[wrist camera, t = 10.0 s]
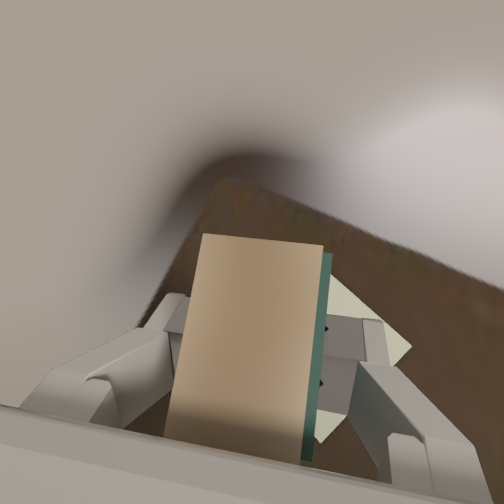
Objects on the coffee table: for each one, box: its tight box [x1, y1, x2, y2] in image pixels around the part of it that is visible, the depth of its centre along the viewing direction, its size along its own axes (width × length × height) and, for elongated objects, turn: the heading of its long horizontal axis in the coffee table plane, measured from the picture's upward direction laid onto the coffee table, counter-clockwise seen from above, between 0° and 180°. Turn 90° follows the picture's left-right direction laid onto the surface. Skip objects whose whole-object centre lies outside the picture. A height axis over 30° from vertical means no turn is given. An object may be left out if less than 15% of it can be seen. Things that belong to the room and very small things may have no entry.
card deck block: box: [163, 233, 333, 465], centre depth 11 cm, size 3×4×8 cm
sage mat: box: [314, 275, 412, 443], centre depth 36 cm, size 12×12×1 cm
